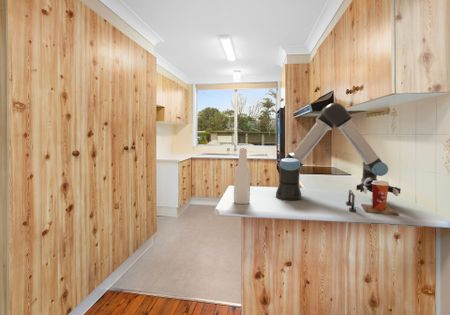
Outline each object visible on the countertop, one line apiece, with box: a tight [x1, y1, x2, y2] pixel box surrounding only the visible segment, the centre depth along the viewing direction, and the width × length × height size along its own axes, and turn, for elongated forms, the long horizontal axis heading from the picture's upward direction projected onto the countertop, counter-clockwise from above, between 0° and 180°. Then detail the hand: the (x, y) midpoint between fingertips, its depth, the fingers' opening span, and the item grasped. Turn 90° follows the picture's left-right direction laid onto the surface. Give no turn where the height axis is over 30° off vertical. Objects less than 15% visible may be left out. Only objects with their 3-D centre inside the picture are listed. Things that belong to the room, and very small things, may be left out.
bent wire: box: [345, 189, 357, 213], centre depth 133 cm, size 3×16×8 cm, turn 160°
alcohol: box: [233, 147, 251, 205], centre depth 138 cm, size 9×9×30 cm
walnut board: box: [360, 203, 400, 216], centre depth 129 cm, size 14×13×1 cm
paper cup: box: [371, 179, 390, 210], centre depth 128 cm, size 8×8×14 cm
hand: (381, 192), depth 126 cm, fingers open, 13 cm apart
